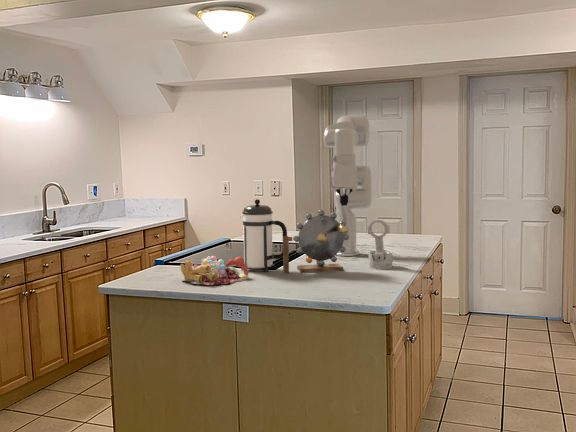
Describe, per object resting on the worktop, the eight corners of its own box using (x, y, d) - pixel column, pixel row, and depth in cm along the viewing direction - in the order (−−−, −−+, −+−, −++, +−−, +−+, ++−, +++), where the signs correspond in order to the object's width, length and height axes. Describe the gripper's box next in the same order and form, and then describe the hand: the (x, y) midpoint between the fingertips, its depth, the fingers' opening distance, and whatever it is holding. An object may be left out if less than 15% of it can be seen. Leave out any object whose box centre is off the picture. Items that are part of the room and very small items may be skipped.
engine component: (390, 269, 250) (393, 265, 259) (390, 221, 248) (394, 218, 257) (364, 268, 253) (369, 264, 263) (364, 220, 251) (369, 217, 261)
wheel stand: (338, 266, 257) (337, 232, 255) (343, 270, 249) (343, 234, 248) (281, 269, 253) (280, 234, 251) (284, 273, 245) (283, 236, 243)
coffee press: (250, 274, 243) (249, 201, 239) (235, 268, 257) (234, 198, 254) (288, 270, 251) (287, 199, 247) (271, 264, 265) (270, 196, 262)
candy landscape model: (217, 289, 220) (217, 265, 219) (170, 282, 232) (169, 259, 231) (256, 276, 241) (256, 254, 240) (210, 271, 253) (210, 249, 252)
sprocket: (347, 263, 252) (347, 208, 249) (355, 268, 241) (355, 211, 239) (293, 266, 248) (292, 210, 245) (298, 271, 237) (298, 213, 234)
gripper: (328, 160, 234) (328, 206, 236) (364, 159, 237) (364, 205, 238) (323, 159, 241) (323, 205, 243) (359, 159, 244) (359, 204, 246)
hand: (344, 205), depth 241 cm, fingers closed
